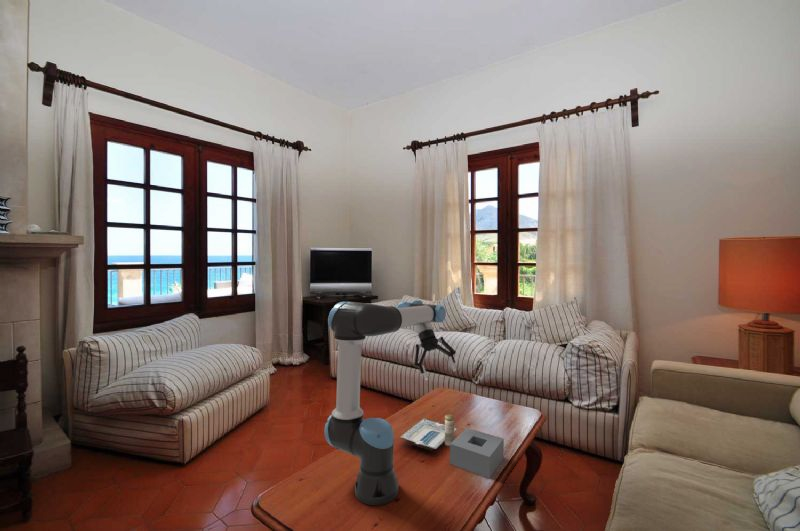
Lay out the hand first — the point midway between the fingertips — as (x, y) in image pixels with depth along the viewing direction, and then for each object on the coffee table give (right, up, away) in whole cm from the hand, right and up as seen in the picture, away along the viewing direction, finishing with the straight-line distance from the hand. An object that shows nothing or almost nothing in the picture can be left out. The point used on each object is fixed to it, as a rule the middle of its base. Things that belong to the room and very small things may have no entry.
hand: (441, 375), depth 157 cm
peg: (+3, -28, -5) cm, 29 cm away
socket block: (+12, -28, -18) cm, 36 cm away
